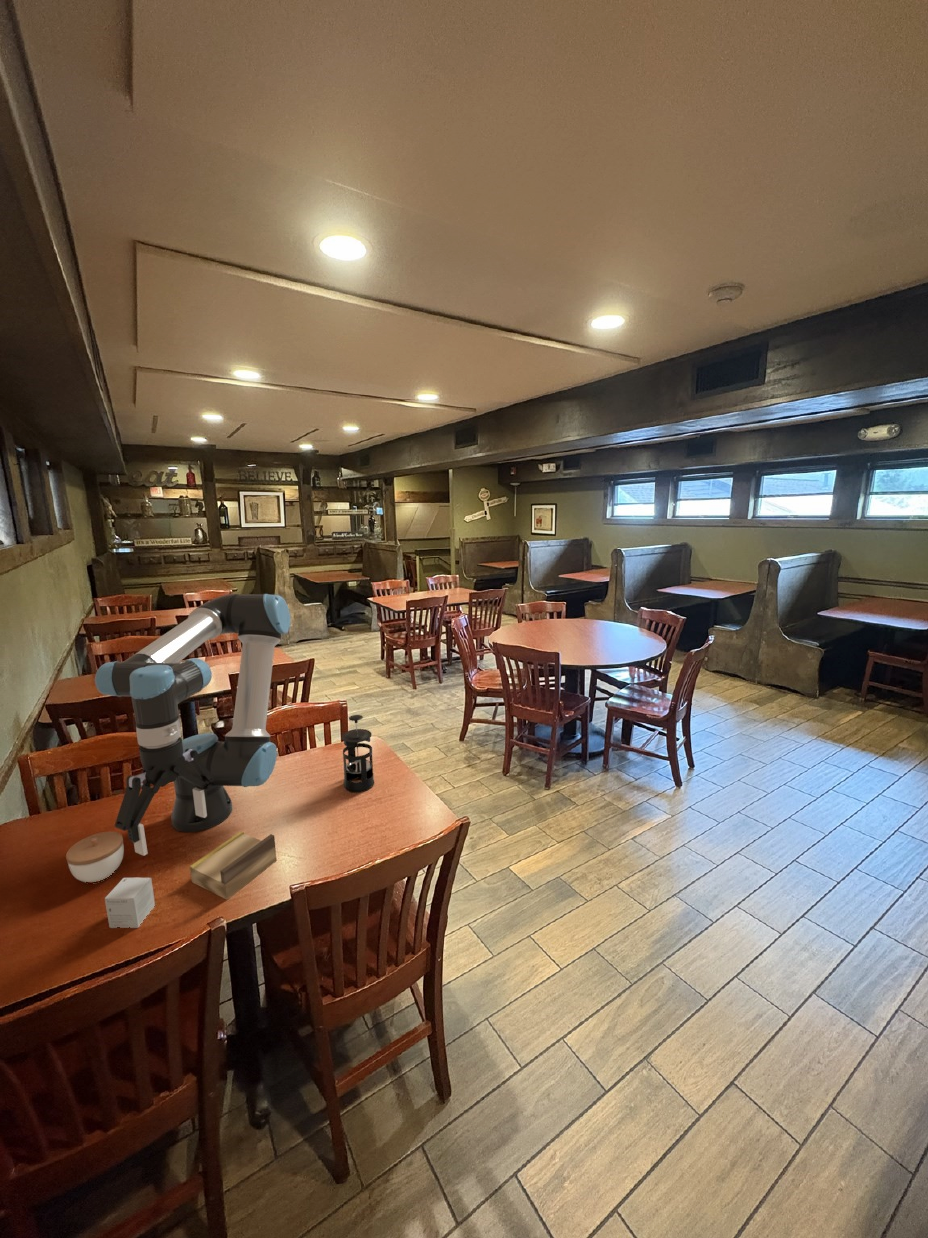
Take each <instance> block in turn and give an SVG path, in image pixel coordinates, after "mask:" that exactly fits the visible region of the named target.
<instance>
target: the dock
mask: <svg viewBox="0 0 928 1238" xmlns="http://www.w3.org/2000/svg"><path fill="white" fill-rule="evenodd" d="M276 849H277V848H276V838H275V835H274V834H271V833H270V834H268V835H267V836H265V837H264V838H263V839H258V838H256V837H253V836H251V835H249V834H246V833H244V831H240V832H238V833H236V834H235V835H233V836H232V837H231V838H229V839H228V840H226V841H224V842H223V843H221V844H220V845H219V846H217V847H216V848H214V849H213V850H211V851H210V852H208V853H207V854H206V855H203V857H201V858H200V859H198V860H197V861H195V862H194V863H192V864H191V865H189V870H190V878H191V882H192V883H193V884H194V885H197V886H199V887H201V888H202V889H205V890H207V891H209V892H211V893H213V894H215V895H216V896H218V897H220V898H223V899H225V900H227V901H228V900H229V899H230V898H232V897H233V896H234V895H236V894H237V893H238V892H239V891H241V890H242V889H243V888H244V887H246V885H248V884H249V883H250V882H252V881H253V880H254V879H256V878H257V877H258V876H259V875H261V873H263V872H264V871H266V870H267V869H268V868H270V866H272V865H273V864H275V862H276V861H277V851H276Z"/></svg>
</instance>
